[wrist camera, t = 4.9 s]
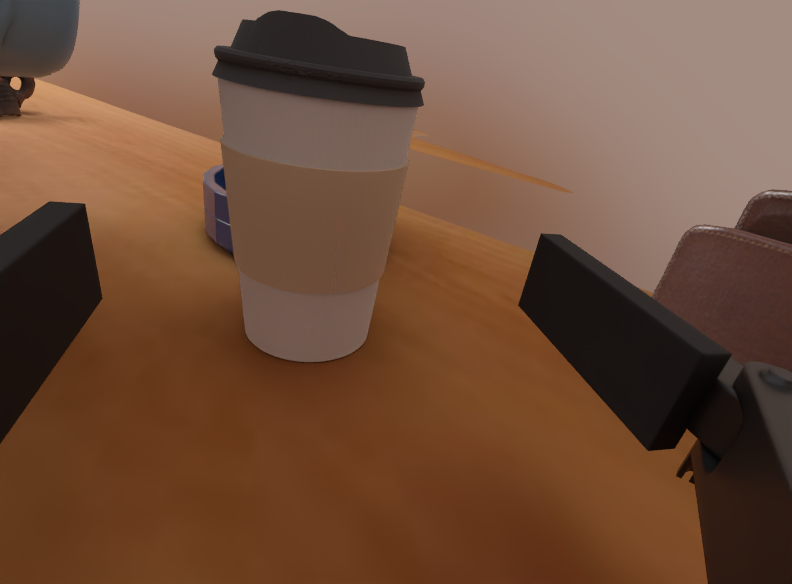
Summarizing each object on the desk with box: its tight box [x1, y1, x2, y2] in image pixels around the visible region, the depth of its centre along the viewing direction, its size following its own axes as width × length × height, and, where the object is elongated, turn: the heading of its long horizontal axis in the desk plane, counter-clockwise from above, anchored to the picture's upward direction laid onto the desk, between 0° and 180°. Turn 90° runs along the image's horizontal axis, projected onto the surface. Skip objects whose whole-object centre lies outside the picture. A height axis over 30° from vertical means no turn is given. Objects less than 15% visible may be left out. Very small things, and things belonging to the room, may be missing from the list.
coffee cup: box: [212, 10, 425, 362], centre depth 22 cm, size 9×9×15 cm
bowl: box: [203, 164, 234, 255], centre depth 36 cm, size 15×15×4 cm
